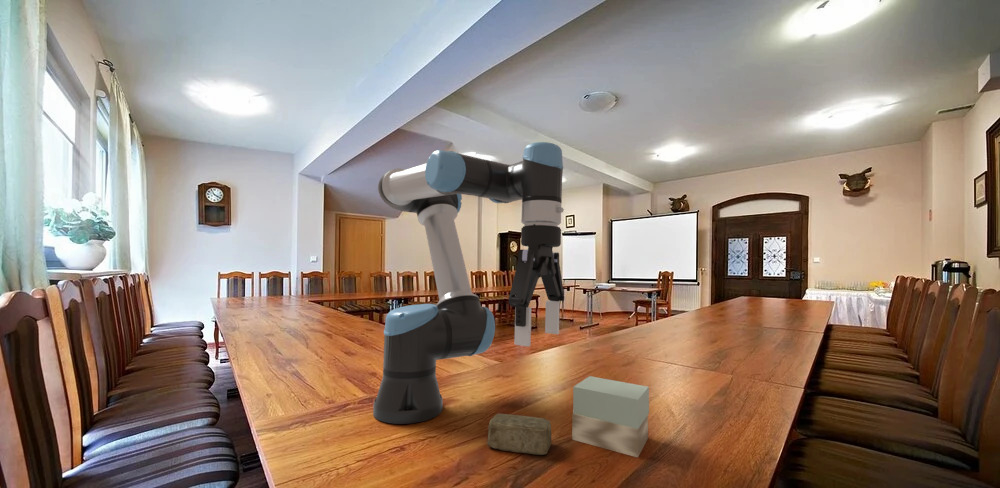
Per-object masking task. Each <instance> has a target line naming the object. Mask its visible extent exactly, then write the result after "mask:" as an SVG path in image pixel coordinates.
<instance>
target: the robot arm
mask: <svg viewBox="0 0 1000 488" xmlns="http://www.w3.org/2000/svg"><path fill="white" fill-rule="evenodd" d="M563 162H564V161H563V150H562V148H561V147H560V146H559V145H558V144H555V143H553V142H547V141H539V142H538V141H537V142H532V143H529V144H527V145H526V146H525V147H524V149H523V154H522V160H521V161H518V162H516V163H512V164H507V163H502V162H497V161H493V160H488V159H483V158H479V157H475V156H472V155H466V154H463V153H459V152H456V151H452V150H451V151H449V150H447V151H446V150H441V149H438V150H437V149H436V150H435V151H433V152H432V153H431V154H430V156H429V157H428V159H427V160H426V163H423V164H420V165H417V166H413V167H410V168H407V169H405V168H399V167H398V168H393V169H390V170H388V171H387V172H385V173H384V174H383V175H382V176H381V177H380V179H379V181H378V185H377V187H378V188H377V189H378V190H377V191H378V193H379V197H380V199H381V200H382V201H383V202H384V203H385V204H386V205H387V206H388V207H390V208H392V209H395V210H396V211H400V212H405V213H414V214H416V215H417V221H418V223H419V224H420V225H422V226H424V229H425V233H426V239H427V243H428V244H427V245H428V248H429V254H430V259H431V264H432V265H431V266H432V268H433V270H432V271H433V275H434V279H435V280H434V281H435V285H436V290H437V295H438V299H439V301H438V302H437V303H436V304H434V303H422V304H411V305H405V306H401V307H397V308H394V309H392V310H390V311H389V312H388V313H387V314H386V317H385V324H384V330H383V335H384V337H383V338H384V339H383V341H384V342H383V364H382V365H383V366H382V367H383V369H382V379H381V382H380V386H379V388H378V392H377V396H376V398H375V399H374V401H373V405H372V407H373V408H372V411H373V412H372V414H373V417H374V418H375V420H378V421H380V422H383V423H388V424H395V425H397V424H398V425H403V424H404V425H406V424H407V425H409V424H416V423H421V422H425V421H429V420H431V419H434V418H436V417H437V416H439V415H440V414H441V413H442V411H443V405H444V403H443V400H444V399H443V396H442V394H441V393H440V392H441V391H440V387H439V382H438V379H437V375H436V374H437V372H436V371H437V361H438V360H440V361H441V360H447V359H453V358H461V357H473V356H475V355H479V354H482V353H485V352H486V351H488V349H489V348H490V347H491V345H492V344H493V340H494V337H495V333H496V332H495V331H496V322H495V315H494V314H493V312H492V311H491V310H490V308H488V307H486V306H482V304H481V301H480V297H479V295H477V294H474V292H472V288H471V284H470V280H469V276H468V272H467V267H466V264H465V260H464V254H463V251H462V246H461V243H460V238H459V235H458V231H457V226H456V223H455V220H456V218H457V217H458V213H460V210H461V208H462V204H463V203H462V201H461V200H463V197H462V195H467V196H474V197H478V198H484V199H489V201H492V203H495V204H509V203H512V202H517V201H521V220H520V221H521V223H522V224H523V226H522V227H521V230H520V232H521V233H520V244H521V246H523V247H527V249H519V251H518V256H517V258H518V259H517V264H516V268H515V273H514V276H513V281H512V284H511V288H510V291H509V294H508V295H509V296H508V304H509V307H515V309H514V310H515V311H514V338H513V339H514V342H513V343H514V345H516V346H522V347H528V348H529V347H531V343H532V342H531V341H532V340H531V336H532V335H531V334H532V307H531V306H530V304H531V300H532V298H533V295H534V292H535V290H536V286H537V284H538V281H539V279H540V278H541V280H542V281H541V282H542V284H543V288H544V290H545V294H546V297H547V300H545V313H544V314H545V315H544V317H545V319H544V321H545V322H544V323H545V324H544V326H545V328H544V333H545V334H551V335H560V302H564V301H565V291H564V290H565V289H564V285H563V279H562V272H561V266H560V253H559V252H556V251H555V252H554V251H553V248H558V247H560V246H561V245H562V229H561V227H560V226H559V225H560V224H562V213H564V212H565V211H564V207H562V202H563V201H562V200H563V199H562V198H563V197H562V196H563V194H562V193H563V172H564V164H563Z"/></svg>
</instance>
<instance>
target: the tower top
mask: <svg viewBox="0 0 1000 488" xmlns="http://www.w3.org/2000/svg"><path fill="white" fill-rule="evenodd" d="M572 390H573V391H572V392H573V393H572V394H573V395H572V396H573V400H572V401H573V402H572V403H573V405H572V409H573V410H572V411H573V412H572V414H573V413H574V414H578V415H582V416H586V417H590V418H594V419H598V420H602V421H607V422H611V423H615V424H619V425H623V426H627V427H631V428H635V429H639V427H640V426H641V424H642V423H643V421H644V420H645V418H646V417H647V415H648V416H649V415H650V414H649V413H650V387H649V386H647V385H641V384H635V383H629V382H624V381H619V380H614V379H613V380H612V379H608V378H602V377H596V376H592V375H589V376H588V377H586V378H584V379H582V381H580V382H578V383H577V384H575V385H574V386H573V388H572Z"/></svg>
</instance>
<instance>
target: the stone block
mask: <svg viewBox="0 0 1000 488" xmlns="http://www.w3.org/2000/svg"><path fill="white" fill-rule="evenodd" d="M487 431H488V432H487V441H486V443H487V445H486V446H487V447H491V448H493V449H495V450H500V451H505V452H512V453H520V454H529V455H535V456H536V455H538V456H543V455H547V454H548V452H549V450H550V447H551V445H552V424H551V421H550V420H549V419H546V418H545V417H535V416H528V415H520V414H519V415H517V414H508V413H497V414H495V415H494V416H493V417H492V418H491V419H490V421H489V423H488V430H487Z"/></svg>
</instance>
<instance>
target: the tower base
mask: <svg viewBox="0 0 1000 488" xmlns="http://www.w3.org/2000/svg"><path fill="white" fill-rule="evenodd" d="M571 416H572V418H571V419H572V421H571V423H572V424H571V425H572V427H571V429H572V430H571V433H572V434H571V438H572V441H576V442H579V443H583V444H588V445H591V446H594V447H598V448H602V449H604V450H605V449H606V450H610V451H612V452H617V453H620V454H624V455H627V456H631V457H635V458H639V456H640V455H641V452H642V450H643V449H644V447H645V445H646V443H647V441H648V439H649V414H648V415H647V417H646V418H645V420H644V421H643V423H642V424H641V426H640V427H639V429H635V428H631V427H627V426H623V425H619V424H615V423H611V422H607V421H602V420H598V419H594V418H590V417H586V416H582V415H578V414H574V413H573V412H572V414H571Z"/></svg>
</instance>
